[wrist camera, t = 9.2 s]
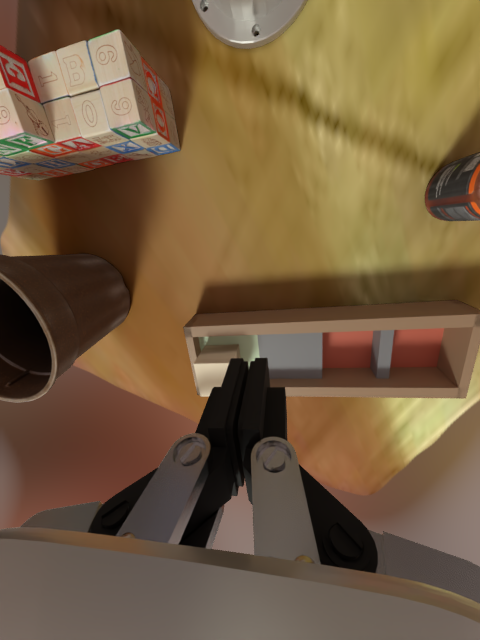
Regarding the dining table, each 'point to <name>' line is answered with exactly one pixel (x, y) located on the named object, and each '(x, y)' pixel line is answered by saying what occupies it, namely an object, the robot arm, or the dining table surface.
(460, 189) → the supplement bottle
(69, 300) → the plant pot
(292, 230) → the dining table surface
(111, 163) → the stack of blocks
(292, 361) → the track
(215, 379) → the birch block
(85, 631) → the robot arm
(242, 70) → the dining table surface
